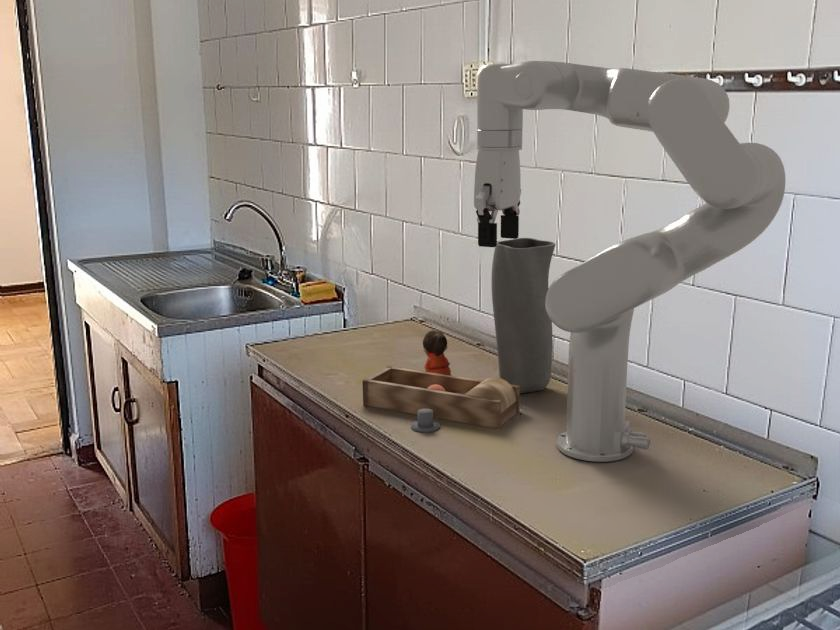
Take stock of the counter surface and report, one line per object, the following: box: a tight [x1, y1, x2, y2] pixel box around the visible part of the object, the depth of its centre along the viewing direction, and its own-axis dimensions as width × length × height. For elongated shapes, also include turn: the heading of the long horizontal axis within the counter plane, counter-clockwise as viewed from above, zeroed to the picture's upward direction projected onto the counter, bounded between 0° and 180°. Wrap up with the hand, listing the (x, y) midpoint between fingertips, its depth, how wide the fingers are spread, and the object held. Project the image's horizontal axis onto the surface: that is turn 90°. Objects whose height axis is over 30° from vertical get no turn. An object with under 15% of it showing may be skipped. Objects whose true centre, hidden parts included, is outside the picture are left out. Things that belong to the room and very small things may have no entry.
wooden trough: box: [362, 365, 521, 429], centre depth 164 cm, size 28×10×8 cm, turn 62°
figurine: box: [422, 329, 452, 376], centre depth 176 cm, size 6×6×12 cm
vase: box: [491, 237, 556, 395], centre depth 171 cm, size 12×12×30 cm
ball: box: [427, 384, 445, 392], centre depth 165 cm, size 4×4×4 cm
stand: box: [410, 409, 441, 433], centre depth 155 cm, size 5×5×3 cm
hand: (498, 242), depth 148 cm, fingers open, 9 cm apart
